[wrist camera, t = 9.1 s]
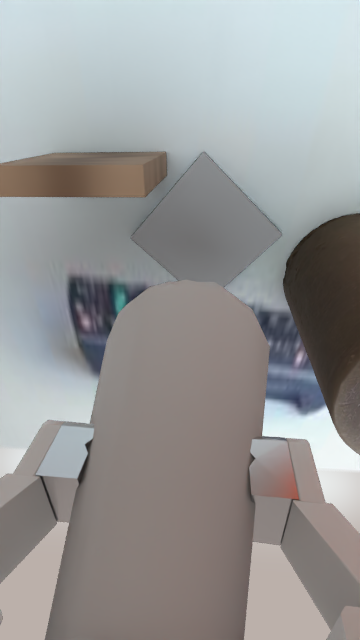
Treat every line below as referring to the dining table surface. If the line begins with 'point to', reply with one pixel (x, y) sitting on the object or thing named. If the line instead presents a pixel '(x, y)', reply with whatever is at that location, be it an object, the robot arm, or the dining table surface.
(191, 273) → the slate mat
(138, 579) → the salt shaker
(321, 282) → the pillar candle
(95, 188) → the walnut box
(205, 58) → the dining table surface
